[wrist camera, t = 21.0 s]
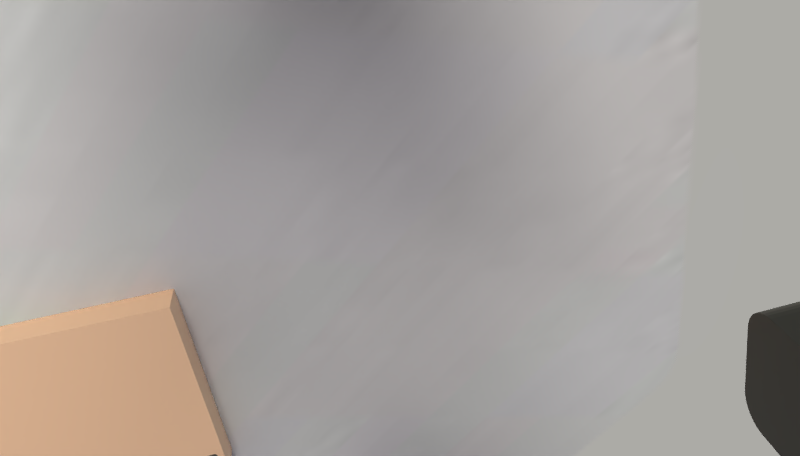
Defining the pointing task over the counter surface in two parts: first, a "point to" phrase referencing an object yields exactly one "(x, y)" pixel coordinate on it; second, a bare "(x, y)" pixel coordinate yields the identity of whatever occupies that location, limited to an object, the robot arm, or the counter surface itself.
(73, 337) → the tile
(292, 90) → the counter surface
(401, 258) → the counter surface
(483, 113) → the counter surface
